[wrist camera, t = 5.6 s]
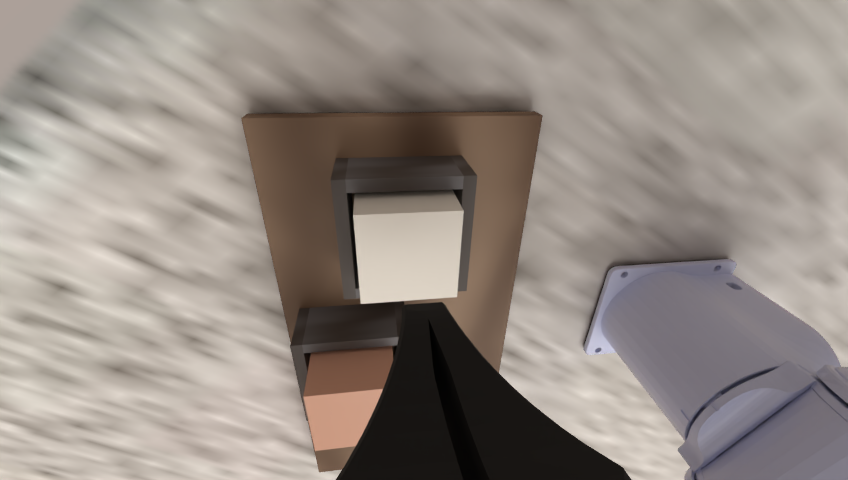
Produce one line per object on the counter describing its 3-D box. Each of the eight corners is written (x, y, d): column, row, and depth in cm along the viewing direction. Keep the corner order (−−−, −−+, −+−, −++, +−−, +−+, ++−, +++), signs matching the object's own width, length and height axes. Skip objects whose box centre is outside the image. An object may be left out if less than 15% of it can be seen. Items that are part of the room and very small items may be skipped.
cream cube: (447, 180, 18) (463, 210, 15) (443, 257, 20) (456, 297, 17) (355, 183, 17) (353, 215, 14) (361, 261, 19) (360, 304, 16)
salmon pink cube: (391, 336, 21) (395, 387, 18) (393, 388, 23) (397, 441, 20) (312, 343, 21) (303, 396, 18) (321, 395, 23) (315, 451, 20)
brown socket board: (534, 111, 19) (571, 129, 15) (482, 440, 33) (495, 488, 29) (247, 113, 17) (217, 134, 14) (320, 459, 31) (314, 513, 27)
